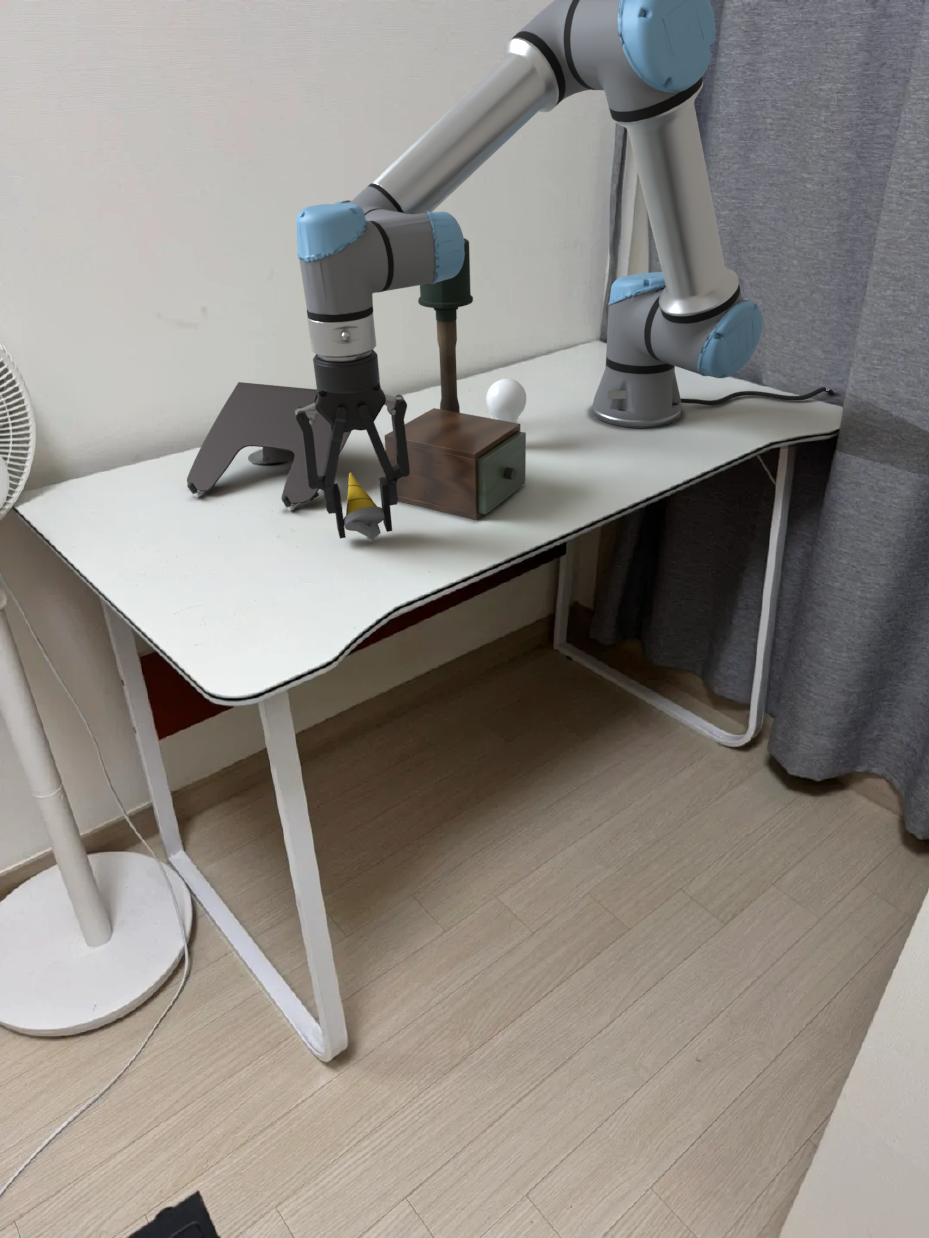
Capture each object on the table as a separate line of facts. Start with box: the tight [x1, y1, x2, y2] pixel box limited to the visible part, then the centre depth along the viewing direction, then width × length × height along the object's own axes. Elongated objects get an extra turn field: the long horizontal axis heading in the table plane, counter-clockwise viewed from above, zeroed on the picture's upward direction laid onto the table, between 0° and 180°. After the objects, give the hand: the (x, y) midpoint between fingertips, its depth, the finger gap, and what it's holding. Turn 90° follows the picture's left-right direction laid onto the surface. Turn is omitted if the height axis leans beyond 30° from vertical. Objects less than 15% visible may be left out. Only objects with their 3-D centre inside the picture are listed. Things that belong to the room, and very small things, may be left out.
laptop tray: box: [186, 381, 352, 511], centre depth 130 cm, size 23×23×9 cm
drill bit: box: [343, 472, 385, 543], centre depth 111 cm, size 5×5×10 cm
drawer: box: [478, 430, 527, 515], centre depth 121 cm, size 15×11×8 cm
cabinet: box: [384, 407, 521, 521], centre depth 122 cm, size 15×13×10 cm
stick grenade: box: [417, 237, 474, 413], centre depth 138 cm, size 8×9×30 cm
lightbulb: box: [485, 377, 527, 423], centre depth 136 cm, size 6×6×11 cm
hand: (364, 529), depth 113 cm, fingers closed on drill bit, 5 cm apart
